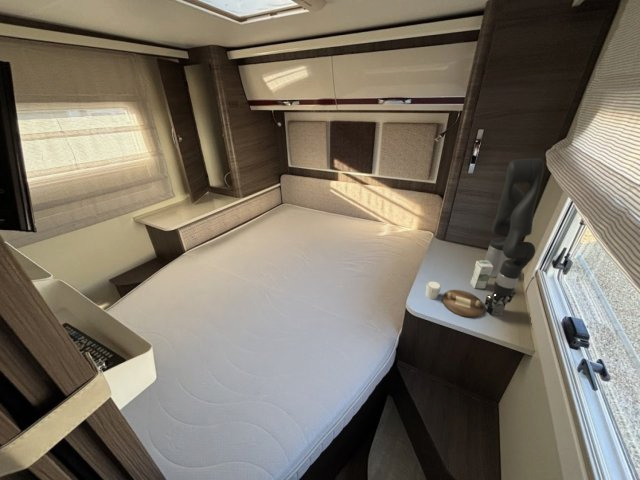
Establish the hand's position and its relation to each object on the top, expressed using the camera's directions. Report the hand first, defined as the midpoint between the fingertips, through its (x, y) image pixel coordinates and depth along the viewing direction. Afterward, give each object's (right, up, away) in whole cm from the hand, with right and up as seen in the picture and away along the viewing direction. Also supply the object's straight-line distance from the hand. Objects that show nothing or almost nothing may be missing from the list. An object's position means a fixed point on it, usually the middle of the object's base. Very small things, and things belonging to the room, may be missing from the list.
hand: (494, 310), depth 123 cm
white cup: (-25, +4, +12) cm, 28 cm away
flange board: (-12, +2, +5) cm, 13 cm away
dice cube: (0, -1, +1) cm, 1 cm away
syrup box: (+2, +9, +17) cm, 20 cm away
